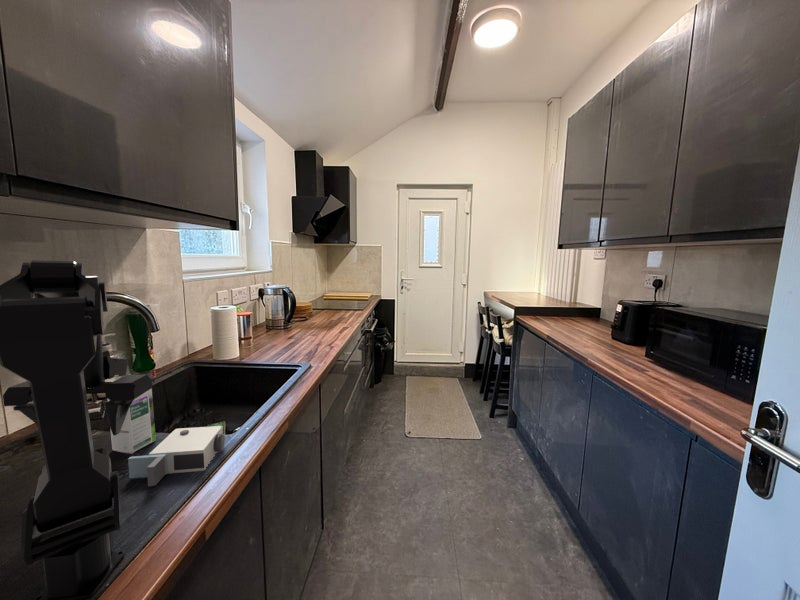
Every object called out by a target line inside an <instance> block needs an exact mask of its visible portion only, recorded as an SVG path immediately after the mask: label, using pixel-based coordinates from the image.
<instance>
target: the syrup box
mask: <svg viewBox="0 0 800 600" xmlns="http://www.w3.org/2000/svg"><path fill="white" fill-rule="evenodd" d="M106 399H107V401H106V402H108V401H110V400H109V399H108V398H106ZM154 413H155V412H154V401H153V387H152V388H151V389H150V390H148V391H146V392H145V393H143V394H142V395H140V396H139V397H137V398H136V399H134V400H133V402H132V404H131V406H130V408H129V410H128V412H127V415H126V417H125V420H124V423H123V426H122V428H121V431H120V433H119V434H117V435H113V433H112V431H111V428H110V427H109V430H110V437H111V439H110V441H111V448H112V449H111V450H112V451H114V452H119V453H124V454H131V455H132V454H134V453H135V452H137V451H139V450H140V449H143V448H144V447H146V446H148V445H150V444H152V443H153V442H155V441H157V437H156V426H155V425H156V423H155V415H154Z"/></svg>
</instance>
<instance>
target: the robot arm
mask: <svg viewBox="0 0 800 600" xmlns="http://www.w3.org/2000/svg"><path fill="white" fill-rule="evenodd" d="M107 299H108V298H107V288H106V282H105V281H101V280H100V277H99V276H98V275H85V267H84V263H83V262H76V260H75V261H74V260H39V259H38V260H36V259H34V260H31V261H29V262H28V261H27V262H26V261H25V262H22V265H21V268H20V273H18V274H17V275H15V276H14V277H11V279H8V280H7V281H5V282H3V283H2V284H0V367H2V368H3V369H5V370H7V371H9V372H11V373H12V374H13V375H16V376H18V377H19V378H21V379H23V380H25V381H23V382H21V383H18V384H15V385H12V386H9V387H7V389H6V390H5V391H4V393H3V394H2V401H3V402H2V403H3V406H4V407H13V411H15V412H16V411H19V412H20V413H22V415H24V416H26V417H27V418H28V419H29V420H31V421H32V422H33V423H35V424H36V425H37V428H38V433H39V438H40V443H41V449H42V452H43V458H44V459H43V460H44V463H45V464H44V465H43V467H42V471H41V474H40V475H39V476H38V479H37V484H36V485H37V486H36V490H35V493H34V494H35V495H34V496H31V497H30V499H29V502H28V505H27V508H25V509H24V510H23V512H22V516H21V517H22V519H21V537H20V549H21V550H20V551H21V558H22V559H23V561H24V562H25V563H26V566H27V567H29V566H31V565H33V564H35V563H37V562H39V561H43V570H44V578H45V586H44V588H43V589H42V590H41V591H40V592H39V593H38V594H37V595H36V596H35V597H34V598H33V600H74V599H75V600H76V599H78V600H83V599H82V598H85V599H87V598H86V597H89V598H91V597H93V596H94V595H95V593H96V592H97V591H98V589H100V587H101V586H102V584H103V583H104V582H105V581H106V579H107V578H108V577H109V575H110V574H111V573H112V572H113V570H114V569H115V568H116V566H117V565H118V564H117V563H118V562H119V563H120V561H121V560H122V559H123V558H124V556H125V555H126V552H125V551H126V550H124V549H121V550H120V549H119V550H118V549H117V550H113V549H114V540H113V539H114V538H113V532H116V531H119V530H121V519H122V518H121V511H122V510H121V509H122V508H121V497H120V496H121V495H120V494H121V493H120V481H119V479H120V478H119V477H120V476H119V471H118V470H116V471H115V470H114V471H113V470H112V462H111V458H110V456H109V451H108V450H107V448H105V447H99V448H97V449H94V443H93V435H92V434H93V433H92V428H91V420H90V414H89V413H90V410H89V404H88V398H87V396H88V395H93V394H95V395H96V394H99V395H100V394H105V398H106V399H107V398H108V399H109V400H110V401H106V402H105V403H104V407H105V411H106V415H107V419H108V423H109V424H108V425H109V429H110V428H111V431H112V433H113V435H117V434H119V433H120V431H121V428H122V426H123V423H124V420H125V417H126V415H127V412H128V410H129V408H130V406H131V404H132V402H133V400H134V399H136V398H137V397H139V396H140V395H142V394H143V393H145V392H146V391H148V390H150V389H151V388H152V389H153V379H152V377H150V375H148V374H146V373H145V374H127V372H128V365H129V358H128V359H127V358H118V357H117V358H116V357H114V358H113V357H111V354H110V351H109V350H108V349H105V350H104V349H103V348H104V347H103V338H102V337H103V336H104V324H105V321H104V313H106V312H108V311H109V310H108V309H109V308H108V300H107ZM116 376H119V377H120V378H118V379H116V380H113V381H106V380H111V379H113V378H114V377H116ZM111 431H110V432H111ZM112 471H113V472H112ZM112 507H113V508H112ZM81 519H82V520H81ZM56 528H57V529H56ZM53 529H54V530H53ZM42 533H43V534H42ZM121 558H122V559H121ZM116 564H117V565H116ZM115 565H116V566H115ZM114 567H115V568H114ZM113 568H114V569H113ZM111 571H112V572H111ZM110 572H111V573H110ZM90 596H91V597H90Z"/></svg>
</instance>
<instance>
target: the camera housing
mask: <svg viewBox="0 0 800 600" xmlns="http://www.w3.org/2000/svg"><path fill="white" fill-rule="evenodd" d="M223 429H224V428H223V425H217V426H214V425H213V426H199V427H197V426H196V427H184V428H183V427H182V428H175V429H174V430H172V432H170V434H168V435H167V436H166V437H165V438H164V439H163V440H162V441H160V442H159V444H158V445H157V446H156V447H155V448H154V449H152V450H151V451H150V452H149V453H148V455H160V454H167V470H168V473H167V474H168V475H169V474H179V473H191V472H202V471H203V472H204V470H205V471H206V470H207V468H208V467H209V465H210V463H211V462H212V461H213V459H214V458H215V456H216V455H217V454H218V453H220V452H222V451H223V449H224V445H225V442H226V441H225V440H226V439H225V435H224V430H223ZM216 453H217V454H216ZM215 454H216V455H215ZM213 457H214V458H213ZM211 460H212V461H211ZM210 461H211V462H210ZM208 464H209V465H208ZM206 467H207V468H206ZM167 474H166V475H167Z"/></svg>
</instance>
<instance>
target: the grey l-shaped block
mask: <svg viewBox="0 0 800 600" xmlns="http://www.w3.org/2000/svg"><path fill="white" fill-rule="evenodd" d="M127 460H128V475H129V479H133V478H144V477H147V486H148V487H156V486H157V484H158V483H159V482H160V481H161V480H162V479H163V478H164V477H165V476H166V475H167V473H168V470H167V454H160V455H149V454H148V455H147V454H146V455H136V456H130V457H129V458H127Z"/></svg>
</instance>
